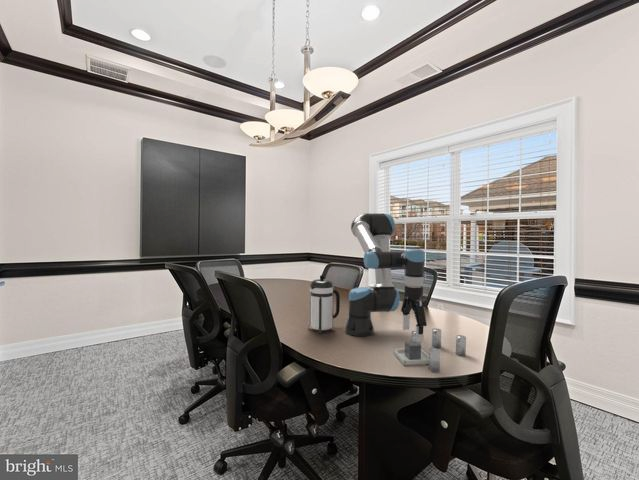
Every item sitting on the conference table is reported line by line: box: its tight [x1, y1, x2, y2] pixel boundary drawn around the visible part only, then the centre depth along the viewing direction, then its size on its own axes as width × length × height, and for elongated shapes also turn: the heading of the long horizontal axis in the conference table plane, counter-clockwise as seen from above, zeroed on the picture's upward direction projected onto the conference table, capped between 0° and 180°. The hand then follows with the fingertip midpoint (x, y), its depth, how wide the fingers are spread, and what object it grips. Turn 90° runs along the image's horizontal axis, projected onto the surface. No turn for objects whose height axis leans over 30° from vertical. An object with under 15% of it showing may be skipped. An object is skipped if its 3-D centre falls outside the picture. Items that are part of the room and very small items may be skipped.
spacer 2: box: [431, 327, 442, 349], centre depth 145 cm, size 4×4×8 cm
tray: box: [392, 348, 429, 367], centre depth 131 cm, size 13×13×2 cm
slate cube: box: [404, 340, 422, 360], centre depth 131 cm, size 5×5×6 cm
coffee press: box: [307, 274, 341, 335], centre depth 168 cm, size 17×16×30 cm
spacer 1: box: [411, 329, 422, 346], centre depth 141 cm, size 4×4×8 cm
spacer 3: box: [428, 347, 441, 373], centre depth 120 cm, size 4×4×8 cm
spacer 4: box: [455, 334, 467, 357], centre depth 135 cm, size 4×4×8 cm
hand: (412, 335), depth 131 cm, fingers open, 13 cm apart
